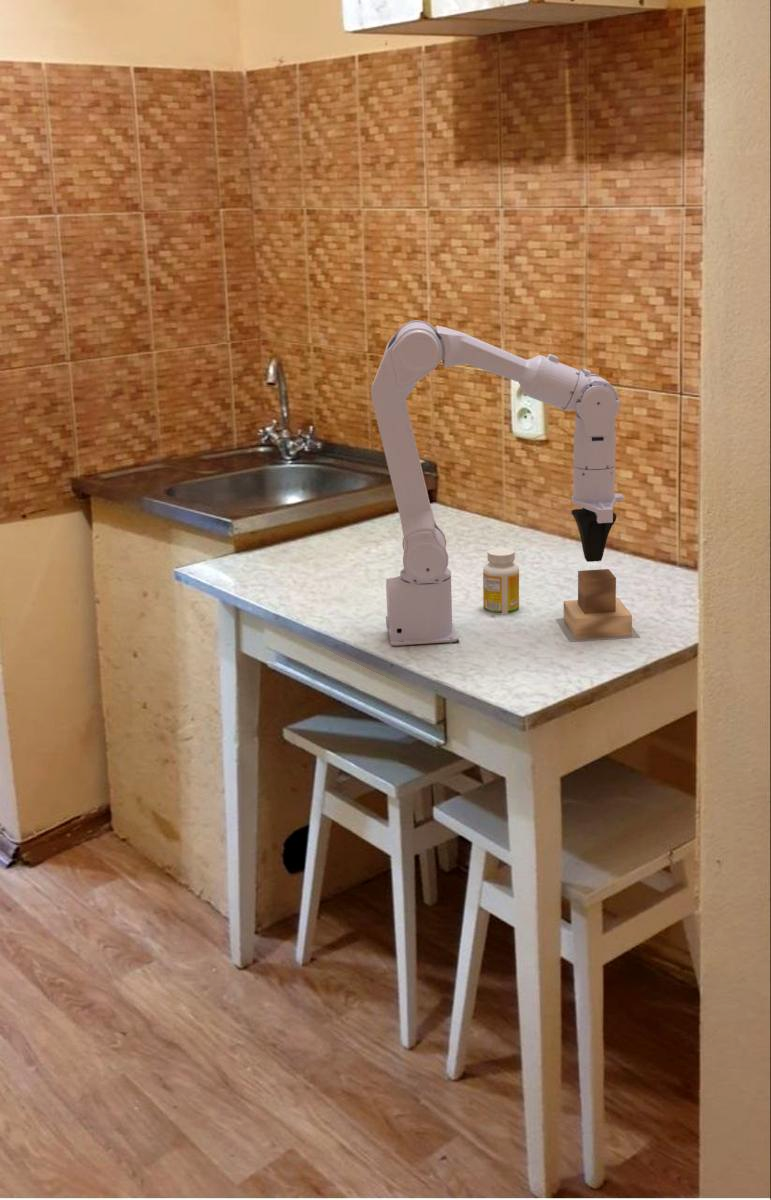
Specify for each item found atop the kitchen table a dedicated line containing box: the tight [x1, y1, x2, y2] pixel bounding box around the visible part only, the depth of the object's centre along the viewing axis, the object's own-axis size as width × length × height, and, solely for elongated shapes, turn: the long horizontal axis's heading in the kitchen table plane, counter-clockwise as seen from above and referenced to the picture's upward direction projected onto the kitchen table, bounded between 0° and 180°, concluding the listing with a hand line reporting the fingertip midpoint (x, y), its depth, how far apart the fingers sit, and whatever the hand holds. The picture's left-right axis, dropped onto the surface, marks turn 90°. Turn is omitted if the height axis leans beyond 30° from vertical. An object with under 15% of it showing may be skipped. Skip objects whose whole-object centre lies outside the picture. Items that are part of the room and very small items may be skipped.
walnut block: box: [577, 568, 617, 614], centre depth 183 cm, size 4×4×5 cm
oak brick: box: [563, 597, 633, 639], centre depth 184 cm, size 8×8×3 cm
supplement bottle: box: [482, 547, 520, 616], centre depth 193 cm, size 5×5×10 cm
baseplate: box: [555, 617, 642, 643], centre depth 185 cm, size 10×10×1 cm
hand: (593, 560), depth 183 cm, fingers closed
